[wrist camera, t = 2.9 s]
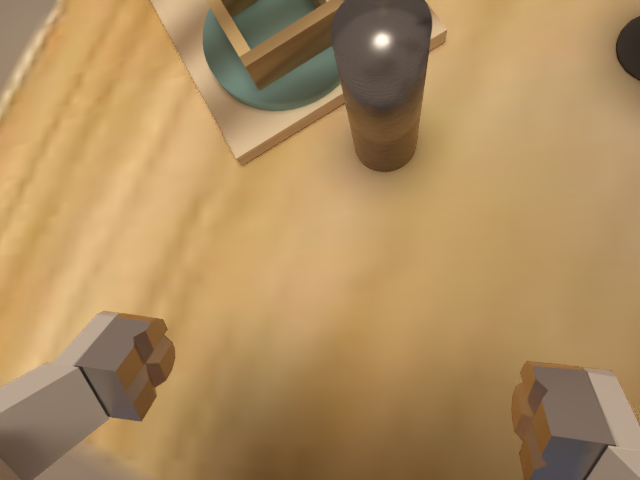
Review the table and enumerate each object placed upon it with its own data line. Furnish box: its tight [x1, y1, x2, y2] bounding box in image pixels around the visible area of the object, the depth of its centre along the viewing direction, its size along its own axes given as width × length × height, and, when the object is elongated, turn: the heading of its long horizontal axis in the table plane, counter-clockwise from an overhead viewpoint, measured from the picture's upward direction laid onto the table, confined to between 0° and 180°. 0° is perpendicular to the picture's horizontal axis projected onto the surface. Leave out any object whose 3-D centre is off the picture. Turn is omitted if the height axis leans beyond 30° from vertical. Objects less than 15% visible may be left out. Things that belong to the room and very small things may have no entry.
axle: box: [330, 0, 432, 172], centre depth 21 cm, size 4×4×11 cm
